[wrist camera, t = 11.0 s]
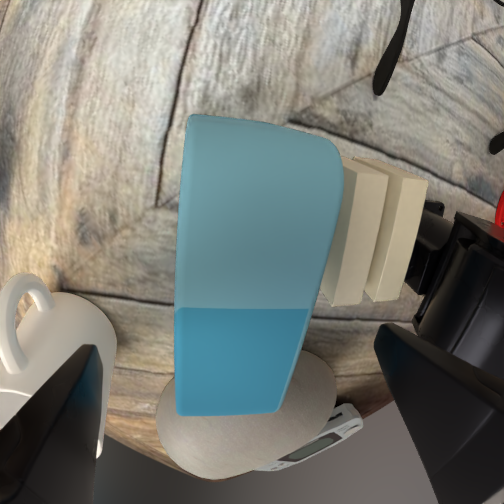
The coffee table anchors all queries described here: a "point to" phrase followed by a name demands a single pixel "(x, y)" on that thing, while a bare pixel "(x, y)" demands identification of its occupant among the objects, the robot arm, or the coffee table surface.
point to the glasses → (391, 58)
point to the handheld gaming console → (322, 437)
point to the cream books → (373, 232)
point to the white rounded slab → (249, 426)
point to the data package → (248, 260)
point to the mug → (47, 342)
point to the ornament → (500, 212)
